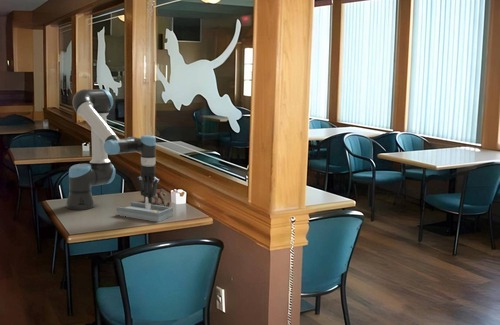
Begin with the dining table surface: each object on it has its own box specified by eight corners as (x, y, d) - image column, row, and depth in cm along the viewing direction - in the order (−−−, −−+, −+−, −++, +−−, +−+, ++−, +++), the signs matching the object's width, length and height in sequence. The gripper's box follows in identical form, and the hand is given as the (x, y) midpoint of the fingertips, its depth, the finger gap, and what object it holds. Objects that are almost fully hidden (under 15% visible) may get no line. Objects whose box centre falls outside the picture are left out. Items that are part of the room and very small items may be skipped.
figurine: (159, 197, 319) (144, 176, 344) (152, 213, 321) (138, 192, 346) (176, 201, 325) (161, 181, 350) (170, 217, 327) (155, 196, 352)
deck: (116, 215, 309) (116, 206, 308) (132, 209, 322) (132, 201, 321) (158, 221, 299) (158, 213, 298) (172, 215, 312) (172, 207, 311)
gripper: (133, 164, 304) (133, 208, 308) (154, 167, 299) (154, 211, 303) (141, 162, 311) (141, 205, 315) (162, 165, 306) (162, 208, 310)
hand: (148, 208), depth 309 cm, fingers closed
